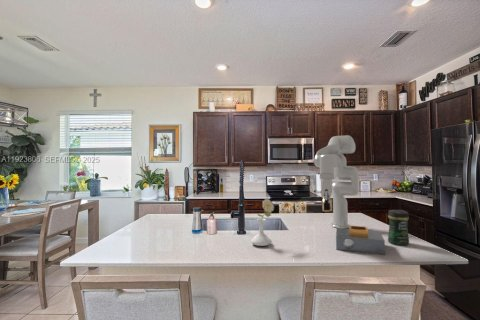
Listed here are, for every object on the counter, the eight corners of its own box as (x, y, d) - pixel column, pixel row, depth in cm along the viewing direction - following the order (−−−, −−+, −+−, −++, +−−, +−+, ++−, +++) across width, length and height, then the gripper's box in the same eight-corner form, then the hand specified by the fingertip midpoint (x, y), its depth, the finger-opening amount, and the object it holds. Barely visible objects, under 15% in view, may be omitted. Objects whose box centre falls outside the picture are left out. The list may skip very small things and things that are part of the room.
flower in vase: (254, 248, 134) (254, 201, 134) (248, 242, 145) (248, 198, 145) (277, 246, 137) (277, 199, 137) (269, 240, 148) (269, 197, 148)
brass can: (322, 209, 145) (322, 195, 145) (332, 210, 143) (332, 195, 143) (322, 211, 141) (321, 196, 141) (331, 211, 139) (331, 196, 139)
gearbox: (336, 239, 148) (336, 222, 148) (379, 244, 140) (379, 225, 140) (336, 250, 131) (336, 230, 131) (385, 255, 123) (384, 234, 123)
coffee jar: (394, 245, 137) (394, 211, 137) (385, 241, 145) (385, 208, 145) (412, 245, 137) (411, 211, 138) (402, 241, 145) (401, 208, 146)
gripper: (321, 175, 152) (321, 206, 151) (318, 177, 136) (318, 211, 136) (334, 176, 149) (335, 207, 148) (333, 177, 133) (333, 212, 133)
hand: (327, 208), depth 142 cm, fingers closed on brass can, 5 cm apart
